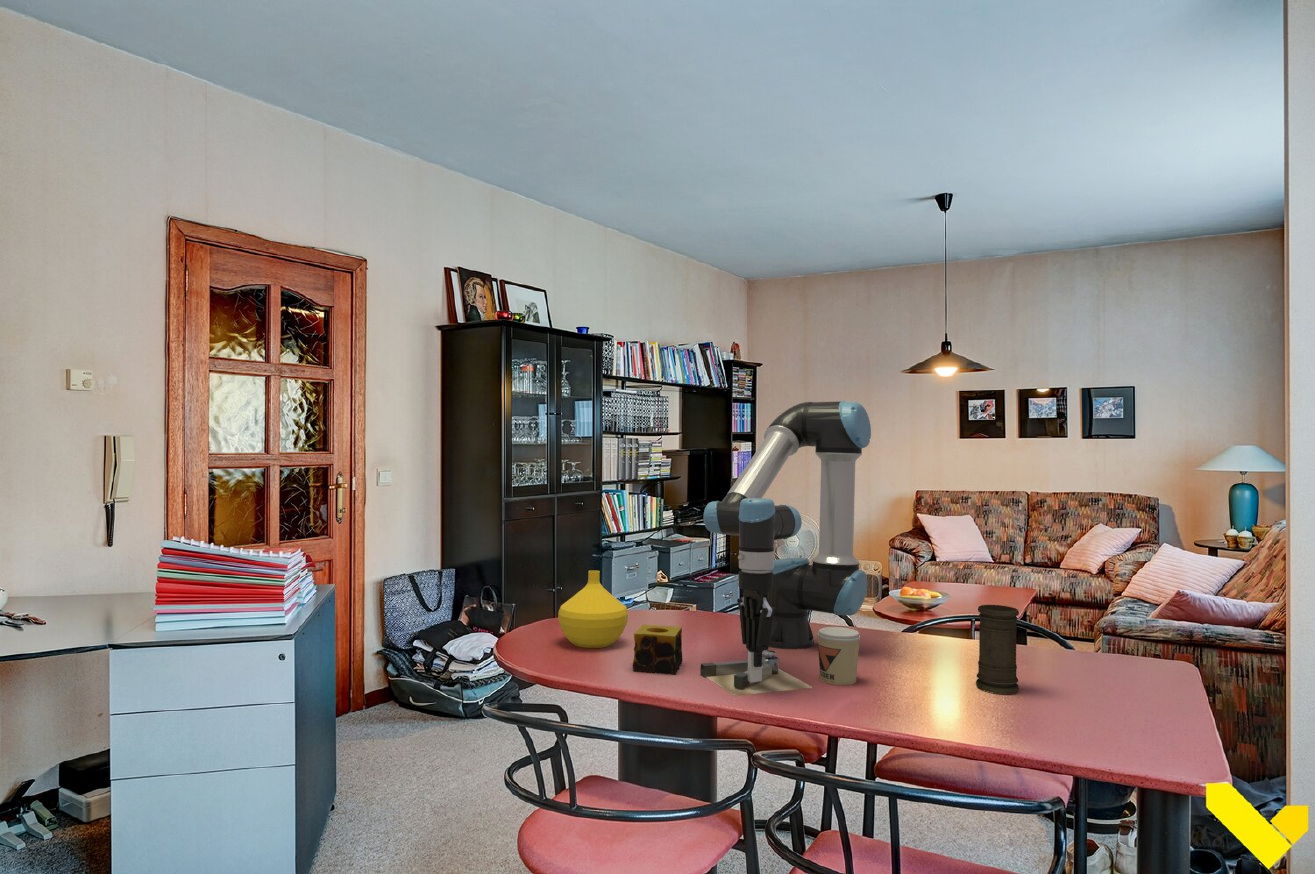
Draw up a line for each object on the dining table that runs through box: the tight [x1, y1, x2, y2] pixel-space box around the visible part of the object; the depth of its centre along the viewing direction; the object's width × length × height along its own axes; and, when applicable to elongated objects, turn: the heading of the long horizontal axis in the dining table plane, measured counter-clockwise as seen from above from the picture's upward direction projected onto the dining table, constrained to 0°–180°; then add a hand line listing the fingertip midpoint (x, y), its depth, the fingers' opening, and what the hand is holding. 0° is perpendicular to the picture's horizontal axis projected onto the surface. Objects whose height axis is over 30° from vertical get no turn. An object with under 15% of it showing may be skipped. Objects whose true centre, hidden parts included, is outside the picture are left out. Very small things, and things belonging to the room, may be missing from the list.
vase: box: [557, 570, 629, 649], centre depth 215 cm, size 18×18×19 cm
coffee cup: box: [816, 626, 861, 686], centre depth 182 cm, size 9×9×12 cm
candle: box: [632, 624, 684, 676], centre depth 190 cm, size 10×10×10 cm
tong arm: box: [734, 649, 777, 689], centre depth 181 cm, size 18×4×4 cm, turn 143°
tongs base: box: [699, 656, 780, 678], centre depth 185 cm, size 18×5×3 cm, turn 111°
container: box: [975, 604, 1020, 695], centre depth 182 cm, size 9×9×18 cm
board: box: [706, 668, 814, 697], centre depth 181 cm, size 19×17×1 cm
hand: (754, 680), depth 175 cm, fingers closed
